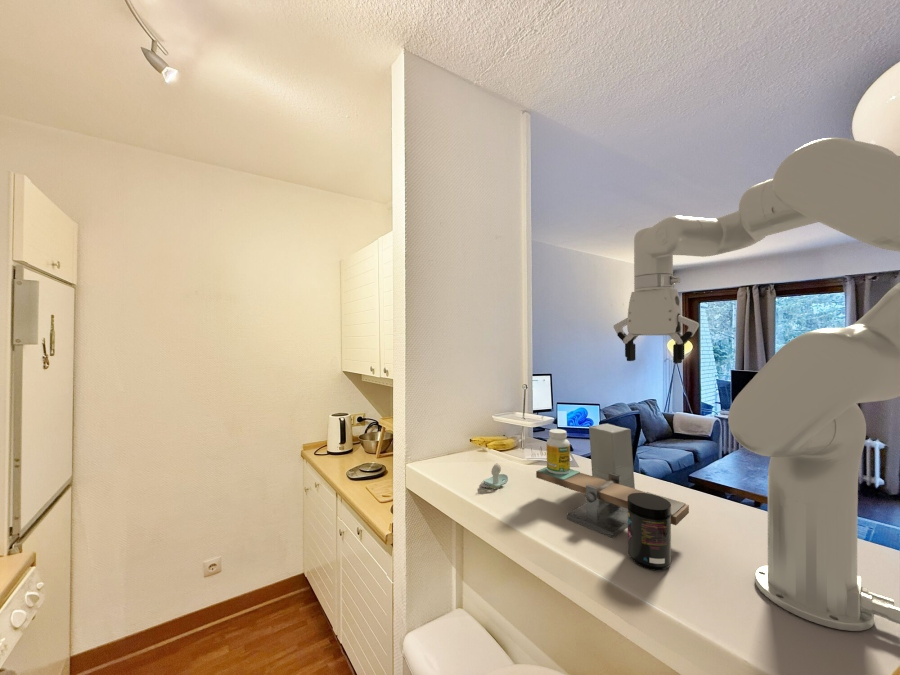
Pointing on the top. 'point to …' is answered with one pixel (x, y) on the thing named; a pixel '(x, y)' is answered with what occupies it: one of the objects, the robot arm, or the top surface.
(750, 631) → the top surface
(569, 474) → the beam
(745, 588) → the top surface
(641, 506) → the supplement container
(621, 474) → the skincare box
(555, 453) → the supplement bottle
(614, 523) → the beam stand
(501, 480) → the pacifier
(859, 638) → the top surface
